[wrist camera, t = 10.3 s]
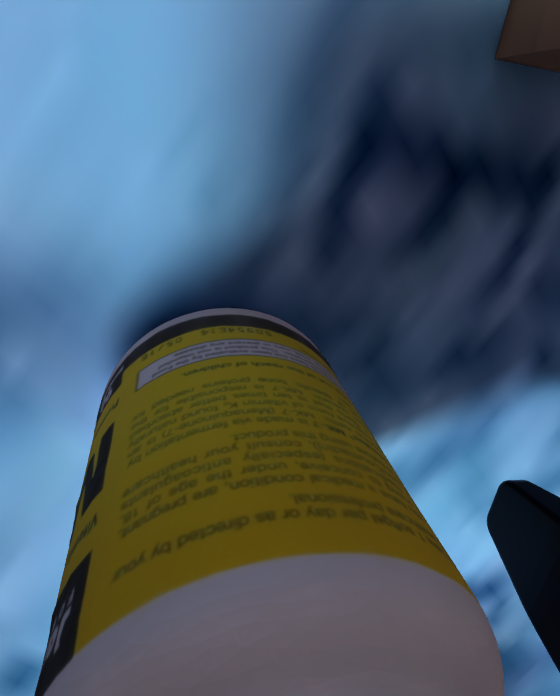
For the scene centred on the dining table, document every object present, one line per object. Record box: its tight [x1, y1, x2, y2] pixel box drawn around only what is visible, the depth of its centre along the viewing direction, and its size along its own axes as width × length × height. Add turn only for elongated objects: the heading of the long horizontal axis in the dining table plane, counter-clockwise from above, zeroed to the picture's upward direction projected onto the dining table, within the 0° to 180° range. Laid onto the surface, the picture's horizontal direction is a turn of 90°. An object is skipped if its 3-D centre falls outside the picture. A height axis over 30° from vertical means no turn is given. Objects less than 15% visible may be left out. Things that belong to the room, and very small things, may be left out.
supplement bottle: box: [35, 308, 504, 696], centre depth 6 cm, size 5×5×8 cm
